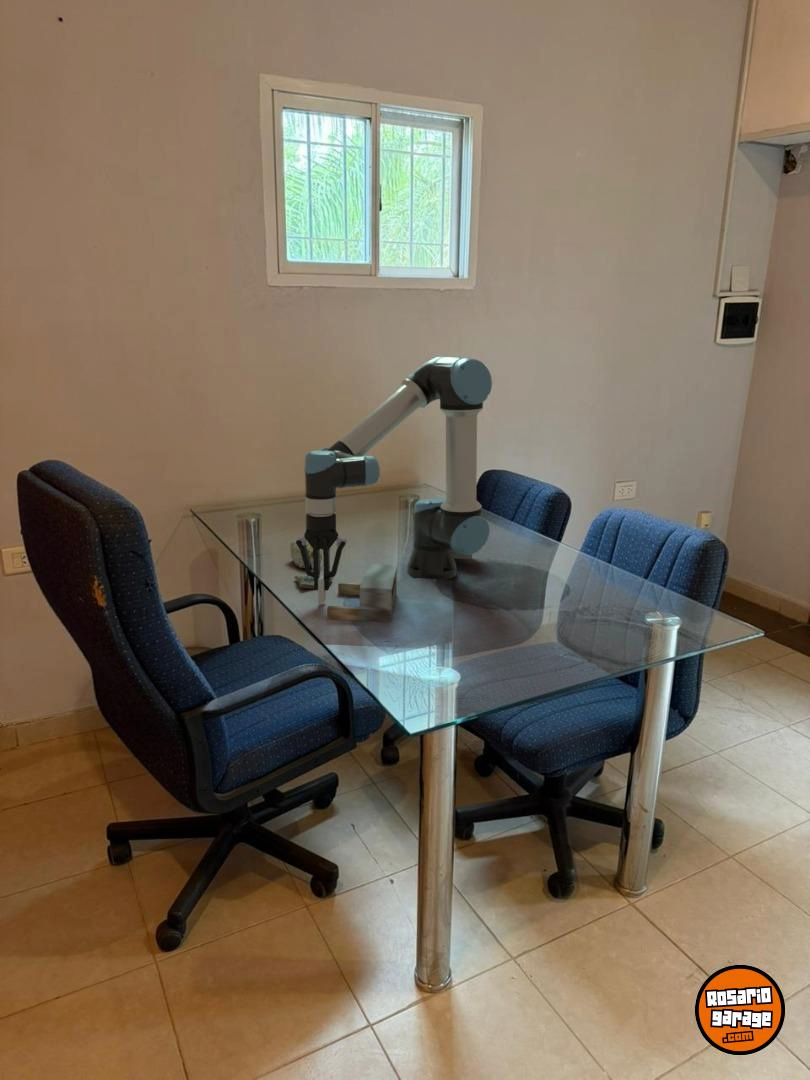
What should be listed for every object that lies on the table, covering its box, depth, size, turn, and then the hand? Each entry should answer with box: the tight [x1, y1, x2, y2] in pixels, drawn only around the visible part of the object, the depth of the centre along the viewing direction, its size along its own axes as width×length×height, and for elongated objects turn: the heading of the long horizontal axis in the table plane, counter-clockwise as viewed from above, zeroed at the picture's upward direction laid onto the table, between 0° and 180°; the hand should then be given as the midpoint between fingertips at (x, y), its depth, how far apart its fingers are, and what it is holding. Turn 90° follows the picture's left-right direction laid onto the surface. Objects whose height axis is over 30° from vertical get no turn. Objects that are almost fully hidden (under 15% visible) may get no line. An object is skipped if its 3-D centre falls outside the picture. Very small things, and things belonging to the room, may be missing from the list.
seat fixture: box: [326, 563, 398, 623], centre depth 192 cm, size 16×19×8 cm
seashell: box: [290, 540, 323, 570], centre depth 224 cm, size 10×10×10 cm
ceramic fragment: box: [294, 575, 334, 589], centre depth 209 cm, size 11×3×10 cm
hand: (322, 601), depth 194 cm, fingers closed
